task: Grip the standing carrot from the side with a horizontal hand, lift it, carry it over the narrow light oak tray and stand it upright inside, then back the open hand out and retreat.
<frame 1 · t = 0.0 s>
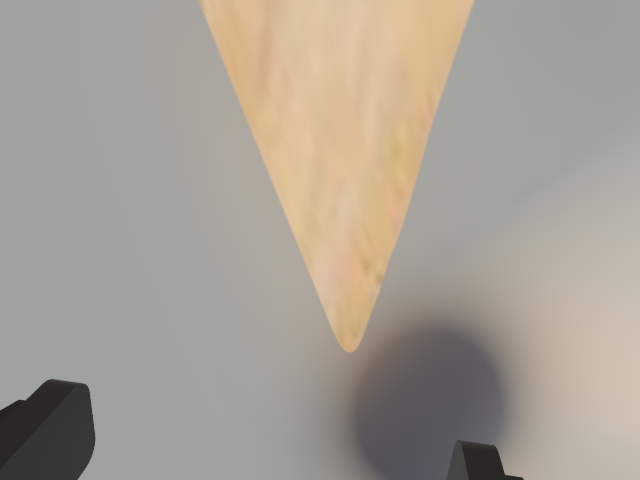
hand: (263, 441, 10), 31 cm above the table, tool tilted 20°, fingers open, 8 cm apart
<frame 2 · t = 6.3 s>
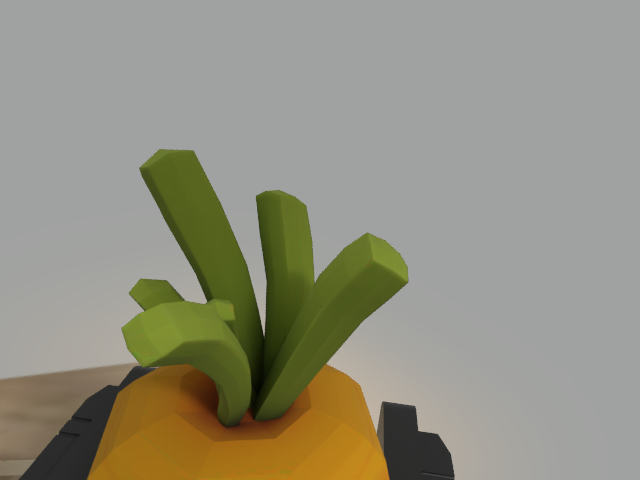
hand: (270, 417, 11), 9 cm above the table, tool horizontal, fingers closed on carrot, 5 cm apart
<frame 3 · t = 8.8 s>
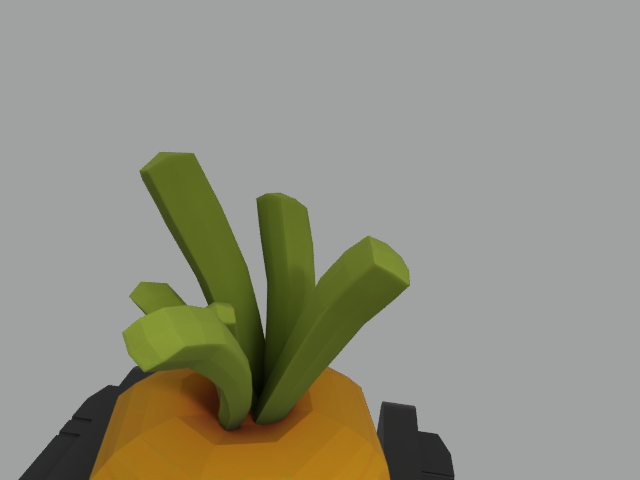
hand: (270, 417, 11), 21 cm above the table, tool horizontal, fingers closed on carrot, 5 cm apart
when the fingers open (11 cm above the table, at t = 11.4 s): carrot drops 1 cm, resting on oak tray.
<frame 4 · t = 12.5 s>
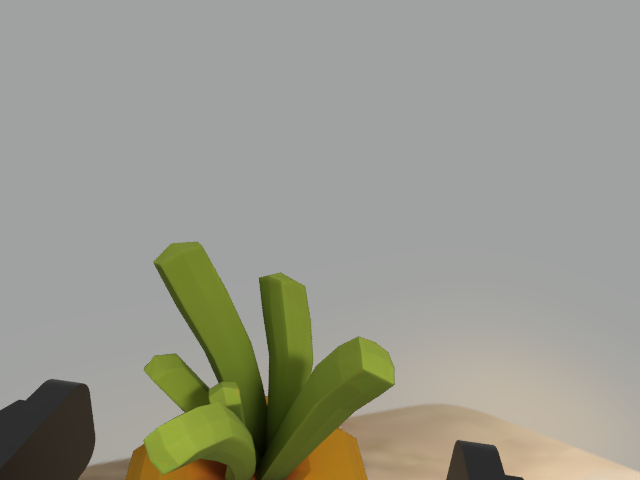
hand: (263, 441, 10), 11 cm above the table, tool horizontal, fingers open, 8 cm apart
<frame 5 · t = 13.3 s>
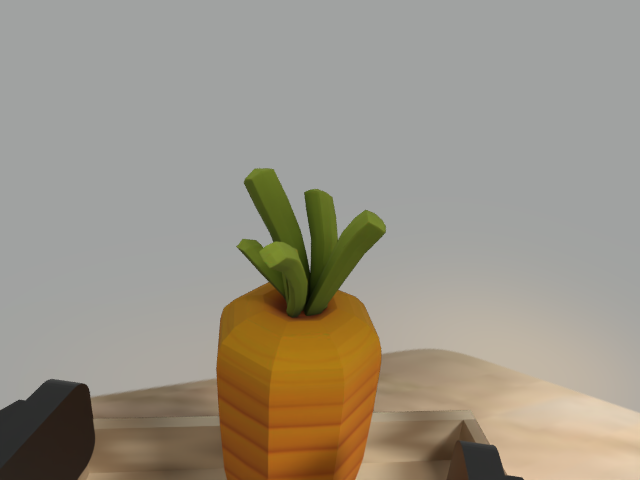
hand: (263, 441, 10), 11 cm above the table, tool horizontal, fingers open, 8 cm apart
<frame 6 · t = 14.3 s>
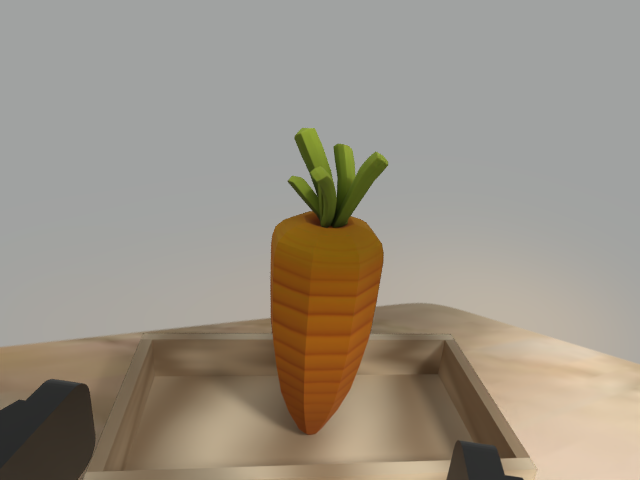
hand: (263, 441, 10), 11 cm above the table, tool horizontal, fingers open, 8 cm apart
oak tray: (306, 445, 25), on the table
carrot: (308, 436, 24), point 1 cm above the table, touching oak tray
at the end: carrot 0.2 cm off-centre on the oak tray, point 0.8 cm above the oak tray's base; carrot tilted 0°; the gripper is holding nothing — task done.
